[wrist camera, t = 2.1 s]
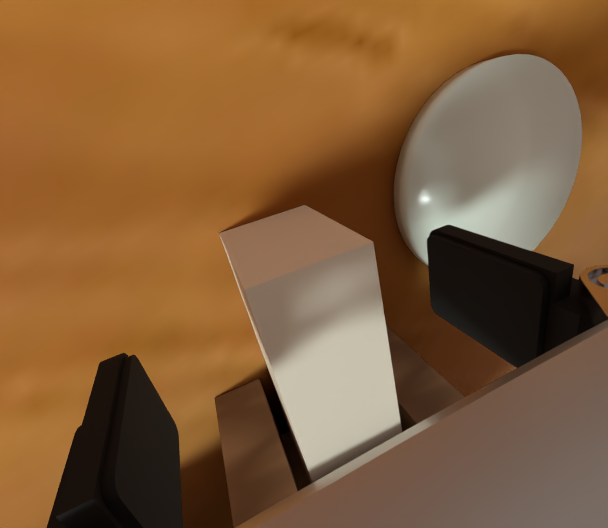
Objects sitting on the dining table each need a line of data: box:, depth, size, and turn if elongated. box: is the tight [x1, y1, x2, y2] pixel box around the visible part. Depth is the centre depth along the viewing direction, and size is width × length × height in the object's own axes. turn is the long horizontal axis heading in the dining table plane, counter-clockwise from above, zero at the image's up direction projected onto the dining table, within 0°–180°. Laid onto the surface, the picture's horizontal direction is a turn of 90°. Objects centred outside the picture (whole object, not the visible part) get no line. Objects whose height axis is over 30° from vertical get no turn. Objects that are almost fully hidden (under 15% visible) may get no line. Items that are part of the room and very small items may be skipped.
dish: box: [394, 54, 582, 266], centre depth 18 cm, size 11×11×1 cm
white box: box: [219, 205, 402, 484], centre depth 15 cm, size 4×12×6 cm, turn 13°
